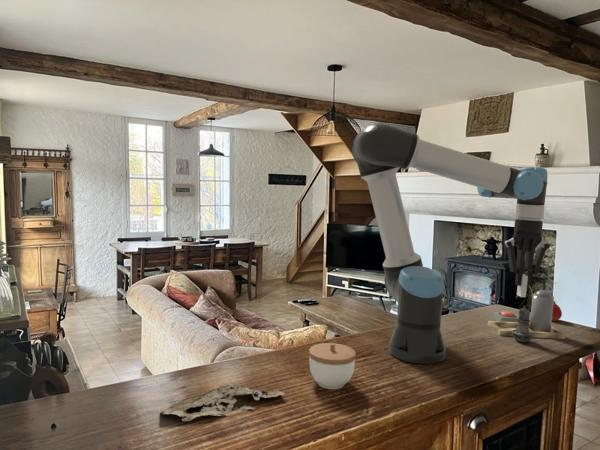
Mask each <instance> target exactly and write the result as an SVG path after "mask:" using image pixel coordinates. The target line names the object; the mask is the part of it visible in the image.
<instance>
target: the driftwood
mask: <svg viewBox="0 0 600 450" xmlns="http://www.w3.org/2000/svg"><path fill="white" fill-rule="evenodd" d="M230 390H233V391H234V392H235V393H236V394H241V395H242V394H243V395H244V394H245V393H246V394H247V395H249V394H250V395H251V396H252V397H253V400H255V401H259V400H260V398H263V399H265V398H272V397H273V398H275V397H278V396H284V395H285V392H284V391H282V390H280V389H278V390H274V391H266V390H262V389H257V390H255V389H250V388H248V387H242V386H241V387H240V386H237V385H234V384H231V383H230V384H222V385H220V386H218V387H217V388H214V389H212V390H210V391H208V392H206V393H205V394H203V395H201V396H199V397H198V398H196V399H195V400H193V401H191V402H187V403H186V402H181V403H174V404H172V405H171V406H169V407H168V408H166V409H165V410H161V412H160V413H159V415H175V416H178V417H180V418H181V421H183V422H190V421H192V420H193V419H196V418H199V417H202V416H203V417H205V416H216V417H218V416H219V417H227V416H226V414H228V412H234V411H233V410H234V409H233V408H234V406H235V405H234V404H236V403H237V401H238V399H236V398H235V397H233V395H232V393H230ZM222 403H226V405H223V404H222ZM201 406H202V407H201ZM197 407H201V409H200V411H199V412H193V413H190V412H188V411H187V410H188V409H190V408H197ZM240 410H241V412H248V410H253V411H255V408H254V407H253V406H251V405H247V404H242V405H241V406H238V408H237V411H240ZM226 411H227V412H226Z"/></svg>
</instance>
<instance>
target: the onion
mask: <svg viewBox="0 0 600 450" xmlns="http://www.w3.org/2000/svg"><path fill="white" fill-rule="evenodd" d="M562 315H563V312H562V309H561V308H560V306H559V305H558V304H557V303H556V301H555V300H554V302H553V313H552V322H557V321H558V320H560V319H561V318H562Z"/></svg>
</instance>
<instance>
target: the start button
mask: <svg viewBox="0 0 600 450" xmlns="http://www.w3.org/2000/svg"><path fill="white" fill-rule="evenodd" d="M500 312H501V316H503V317H514V318H515V314H516V313H515V312H513V311H507V310H502V311H500Z"/></svg>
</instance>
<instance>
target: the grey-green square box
mask: <svg viewBox="0 0 600 450" xmlns="http://www.w3.org/2000/svg"><path fill="white" fill-rule="evenodd" d="M518 318H519V314H516V313H515V318H514V317H503V316H501V311H493V319H494V320H496V321H501V322H518V321H517V319H518Z"/></svg>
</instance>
